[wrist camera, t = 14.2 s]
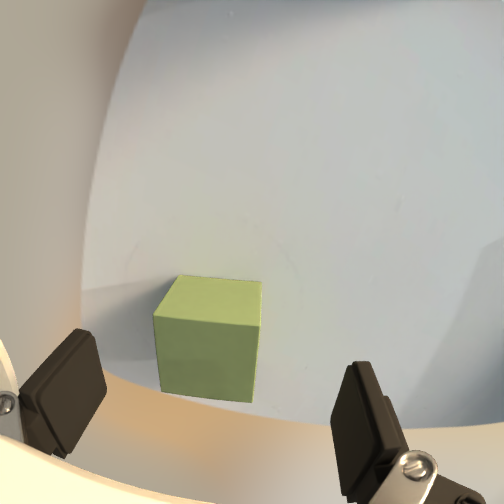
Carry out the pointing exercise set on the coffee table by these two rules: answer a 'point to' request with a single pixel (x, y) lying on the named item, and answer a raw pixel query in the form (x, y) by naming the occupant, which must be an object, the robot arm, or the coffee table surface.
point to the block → (209, 338)
